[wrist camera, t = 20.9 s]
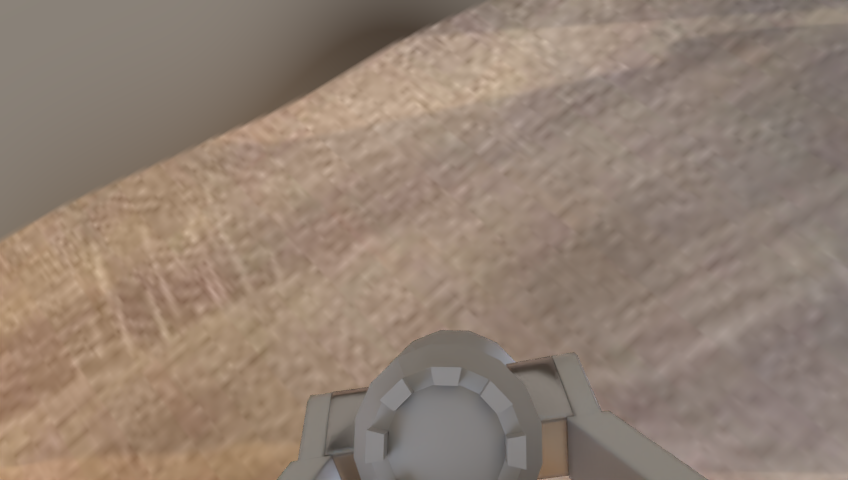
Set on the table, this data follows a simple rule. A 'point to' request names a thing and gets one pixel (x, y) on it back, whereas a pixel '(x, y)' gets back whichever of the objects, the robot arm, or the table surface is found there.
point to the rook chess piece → (448, 415)
